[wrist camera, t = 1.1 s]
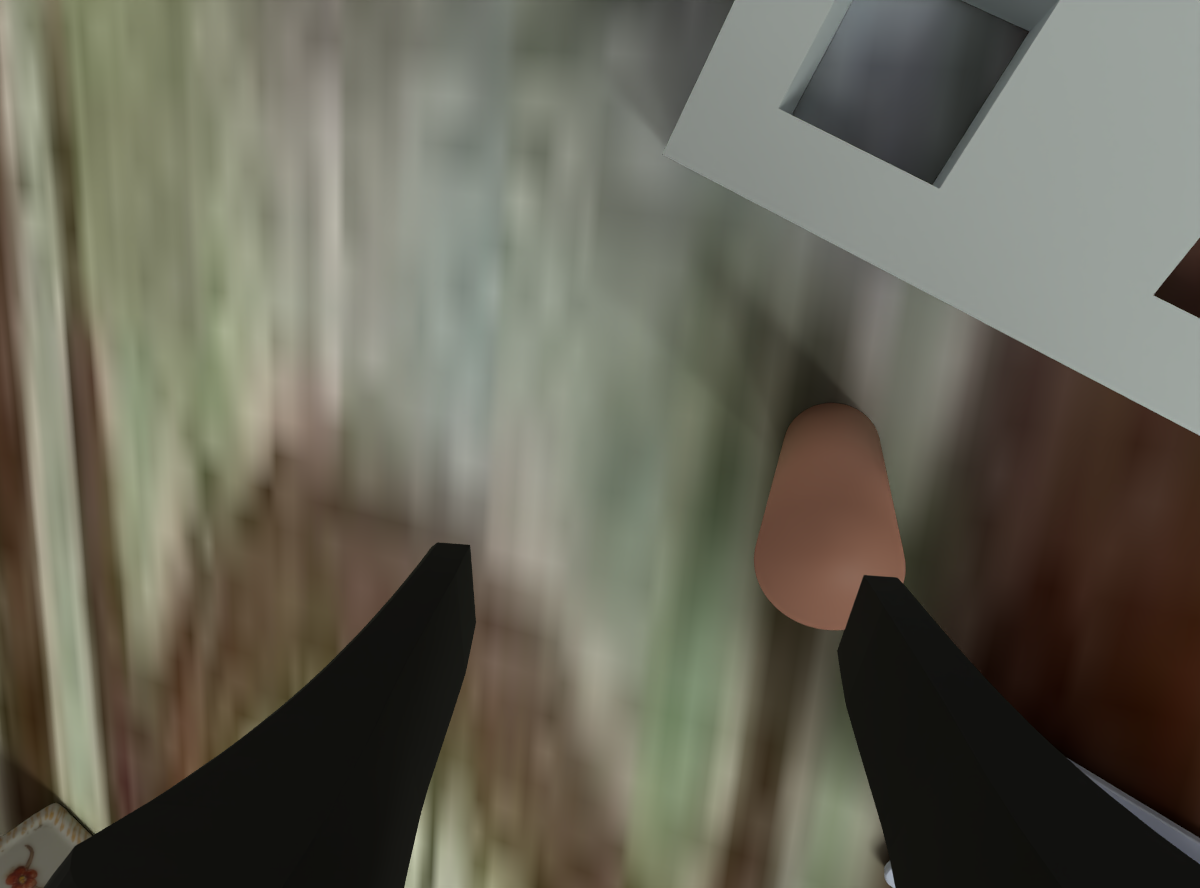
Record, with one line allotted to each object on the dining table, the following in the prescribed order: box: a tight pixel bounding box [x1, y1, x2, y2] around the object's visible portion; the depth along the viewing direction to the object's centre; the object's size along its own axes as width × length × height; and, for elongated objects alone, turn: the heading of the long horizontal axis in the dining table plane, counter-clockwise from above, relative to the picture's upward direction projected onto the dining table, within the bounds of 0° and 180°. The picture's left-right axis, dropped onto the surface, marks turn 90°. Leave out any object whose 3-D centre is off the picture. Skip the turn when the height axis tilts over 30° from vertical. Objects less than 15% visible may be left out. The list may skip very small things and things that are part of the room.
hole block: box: [662, 0, 1200, 435], centre depth 18 cm, size 19×9×3 cm, turn 64°
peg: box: [754, 403, 906, 630], centre depth 19 cm, size 3×3×9 cm
